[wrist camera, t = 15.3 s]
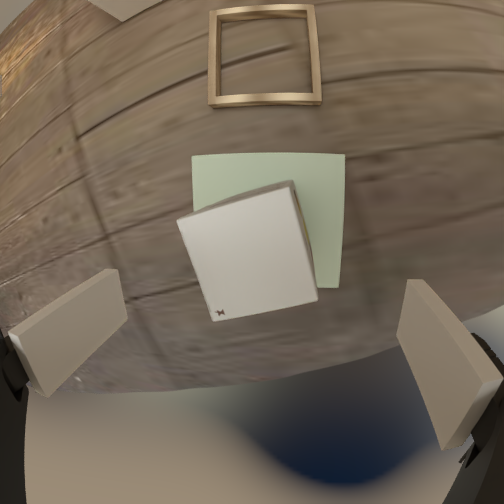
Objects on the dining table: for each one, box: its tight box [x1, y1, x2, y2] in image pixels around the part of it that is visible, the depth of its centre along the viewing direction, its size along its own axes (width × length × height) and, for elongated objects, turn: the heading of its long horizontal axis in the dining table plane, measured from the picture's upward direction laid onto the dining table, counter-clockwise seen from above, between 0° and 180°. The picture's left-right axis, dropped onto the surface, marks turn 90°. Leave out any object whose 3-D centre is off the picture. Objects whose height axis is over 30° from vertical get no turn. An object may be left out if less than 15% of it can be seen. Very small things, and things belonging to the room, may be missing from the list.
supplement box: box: [177, 179, 318, 321], centre depth 29 cm, size 10×9×17 cm
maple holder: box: [208, 4, 322, 108], centre depth 30 cm, size 14×15×2 cm
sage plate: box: [192, 153, 345, 288], centre depth 38 cm, size 20×18×1 cm
